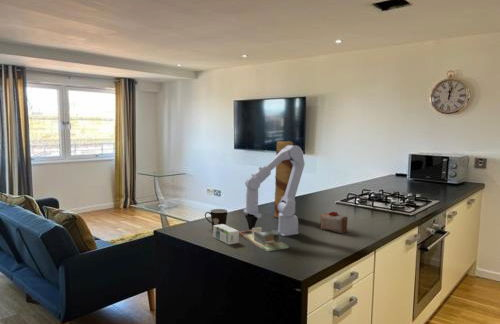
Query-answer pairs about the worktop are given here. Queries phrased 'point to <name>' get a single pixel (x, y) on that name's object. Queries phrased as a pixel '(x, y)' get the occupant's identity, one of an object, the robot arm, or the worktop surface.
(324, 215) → the food item
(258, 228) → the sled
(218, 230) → the syrup box
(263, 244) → the rail tunnel
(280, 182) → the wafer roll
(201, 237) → the worktop surface
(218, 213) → the coffee mug
